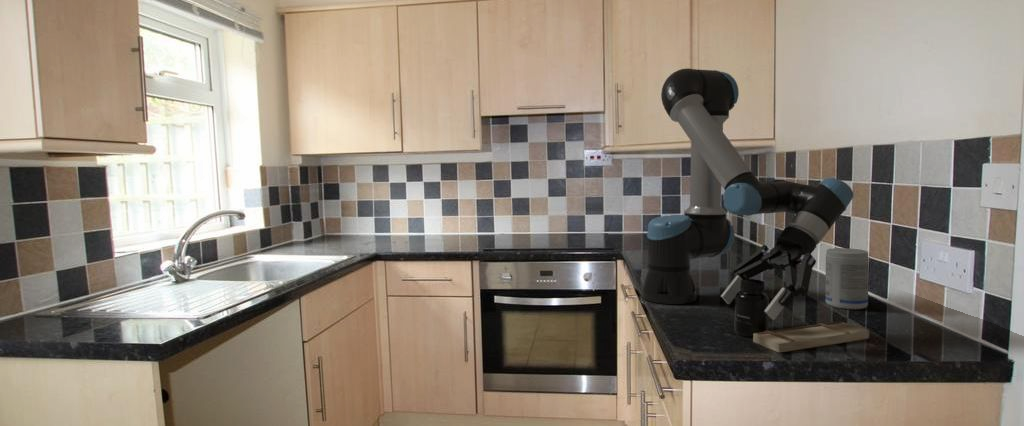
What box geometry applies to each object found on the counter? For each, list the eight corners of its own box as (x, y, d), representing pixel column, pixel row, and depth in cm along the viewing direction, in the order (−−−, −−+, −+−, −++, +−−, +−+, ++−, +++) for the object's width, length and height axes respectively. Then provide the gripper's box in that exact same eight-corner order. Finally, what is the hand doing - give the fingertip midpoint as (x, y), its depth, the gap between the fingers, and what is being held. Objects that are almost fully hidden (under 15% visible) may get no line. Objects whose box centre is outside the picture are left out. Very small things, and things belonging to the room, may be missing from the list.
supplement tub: (874, 306, 136) (876, 250, 135) (857, 312, 131) (859, 254, 129) (834, 299, 144) (836, 246, 143) (817, 304, 139) (819, 250, 138)
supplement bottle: (735, 336, 114) (736, 283, 113) (733, 327, 121) (734, 276, 120) (769, 339, 112) (771, 285, 111) (766, 330, 118) (767, 278, 117)
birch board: (753, 341, 111) (753, 332, 111) (839, 329, 118) (839, 320, 118) (778, 352, 104) (779, 342, 104) (868, 338, 111) (869, 329, 111)
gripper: (860, 255, 107) (801, 334, 104) (768, 240, 131) (718, 304, 128) (841, 231, 105) (780, 311, 102) (751, 220, 129) (700, 285, 126)
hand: (745, 307), depth 115 cm, fingers open, 13 cm apart
